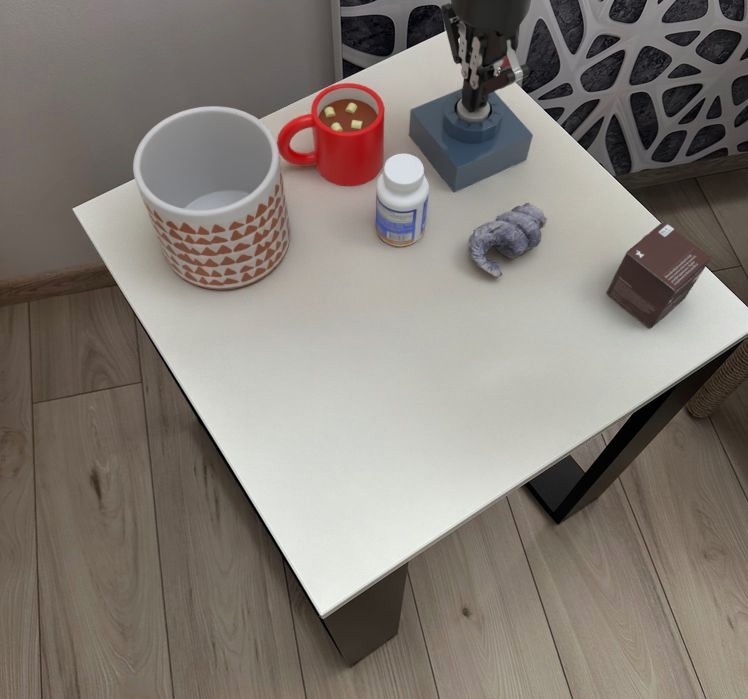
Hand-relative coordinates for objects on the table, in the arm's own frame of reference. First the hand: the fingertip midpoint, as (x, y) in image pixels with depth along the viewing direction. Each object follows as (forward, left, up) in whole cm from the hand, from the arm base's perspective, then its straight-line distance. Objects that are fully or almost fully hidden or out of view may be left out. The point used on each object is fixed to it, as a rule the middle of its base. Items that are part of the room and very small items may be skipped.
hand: (473, 106), depth 85 cm
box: (-5, +27, -6) cm, 28 cm away
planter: (+30, -1, -6) cm, 31 cm away
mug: (+15, -5, -6) cm, 17 cm away
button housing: (0, 0, -6) cm, 6 cm away
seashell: (+4, +14, -6) cm, 16 cm away
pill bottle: (+13, +6, -6) cm, 16 cm away
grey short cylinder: (0, 0, -2) cm, 2 cm away
